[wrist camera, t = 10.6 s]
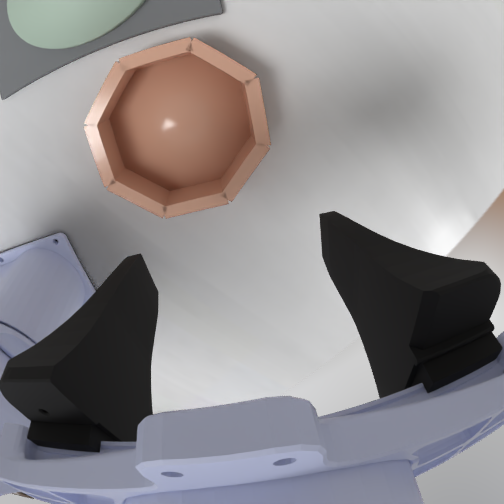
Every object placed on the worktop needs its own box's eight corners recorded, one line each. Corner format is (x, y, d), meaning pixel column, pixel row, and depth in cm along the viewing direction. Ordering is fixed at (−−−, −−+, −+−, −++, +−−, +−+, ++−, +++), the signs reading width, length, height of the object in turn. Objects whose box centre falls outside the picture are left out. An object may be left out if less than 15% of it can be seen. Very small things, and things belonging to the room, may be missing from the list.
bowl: (131, 209, 21) (121, 230, 19) (89, 76, 15) (70, 79, 13) (270, 176, 21) (278, 193, 19) (243, 32, 15) (248, 25, 13)
